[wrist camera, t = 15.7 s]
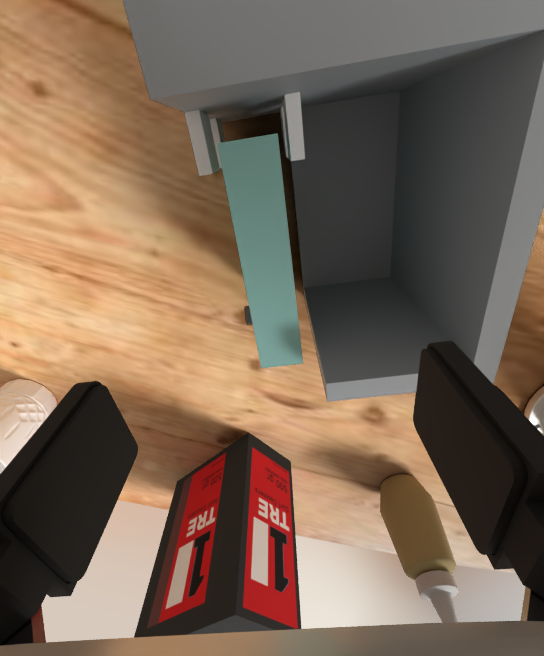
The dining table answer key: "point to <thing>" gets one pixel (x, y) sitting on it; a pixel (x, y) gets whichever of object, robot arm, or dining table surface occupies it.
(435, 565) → the squeeze bottle
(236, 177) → the cabinet door
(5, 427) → the white cup
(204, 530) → the cleaning product box
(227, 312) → the dining table surface
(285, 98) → the cabinet
